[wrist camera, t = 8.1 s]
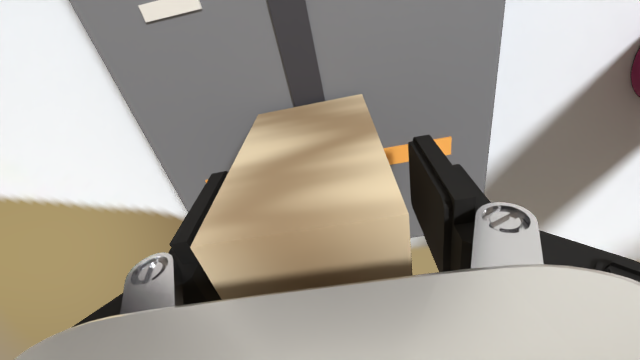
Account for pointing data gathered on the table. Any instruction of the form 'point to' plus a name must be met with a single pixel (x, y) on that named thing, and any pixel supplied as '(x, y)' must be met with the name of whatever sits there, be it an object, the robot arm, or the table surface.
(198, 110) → the panel
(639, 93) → the cup
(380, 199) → the fader tab
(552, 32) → the table surface
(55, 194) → the table surface
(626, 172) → the table surface
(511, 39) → the table surface
